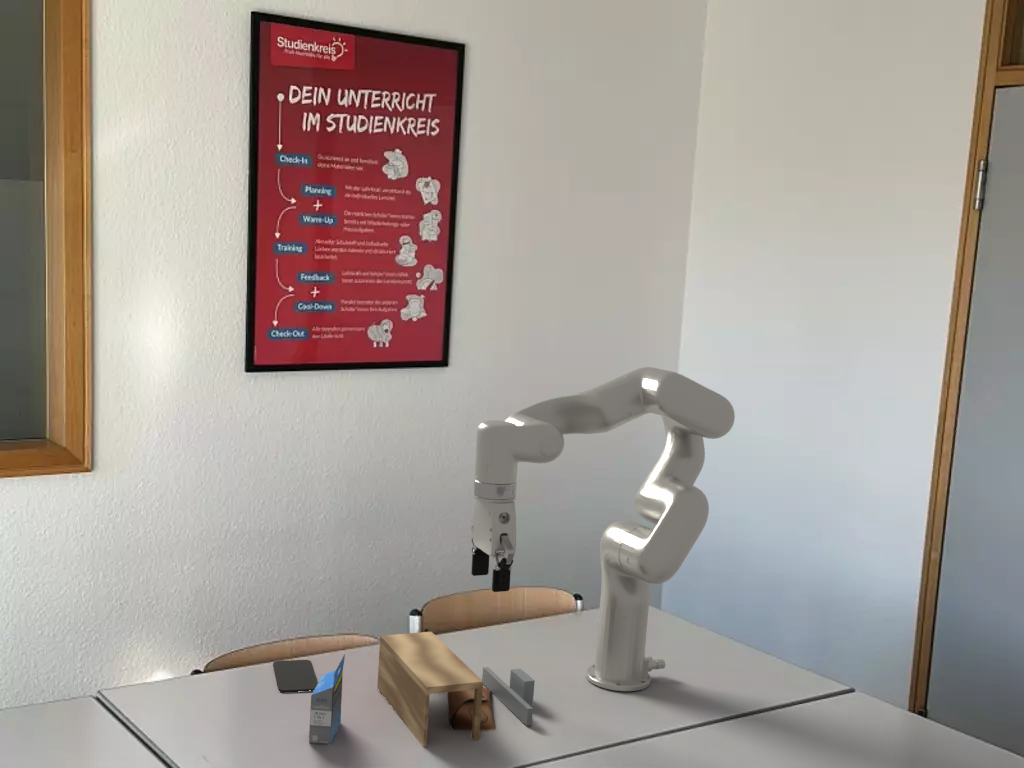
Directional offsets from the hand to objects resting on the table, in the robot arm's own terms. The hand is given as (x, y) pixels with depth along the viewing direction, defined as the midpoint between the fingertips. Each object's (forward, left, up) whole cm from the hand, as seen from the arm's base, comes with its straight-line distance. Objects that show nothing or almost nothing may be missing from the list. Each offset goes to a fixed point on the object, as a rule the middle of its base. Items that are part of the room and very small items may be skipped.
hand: (490, 582), depth 201 cm
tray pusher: (-6, +2, -22) cm, 23 cm away
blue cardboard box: (+31, +5, -23) cm, 38 cm away
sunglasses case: (+3, +3, -23) cm, 23 cm away
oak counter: (+12, +2, -22) cm, 25 cm away
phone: (+30, -20, -23) cm, 42 cm away
